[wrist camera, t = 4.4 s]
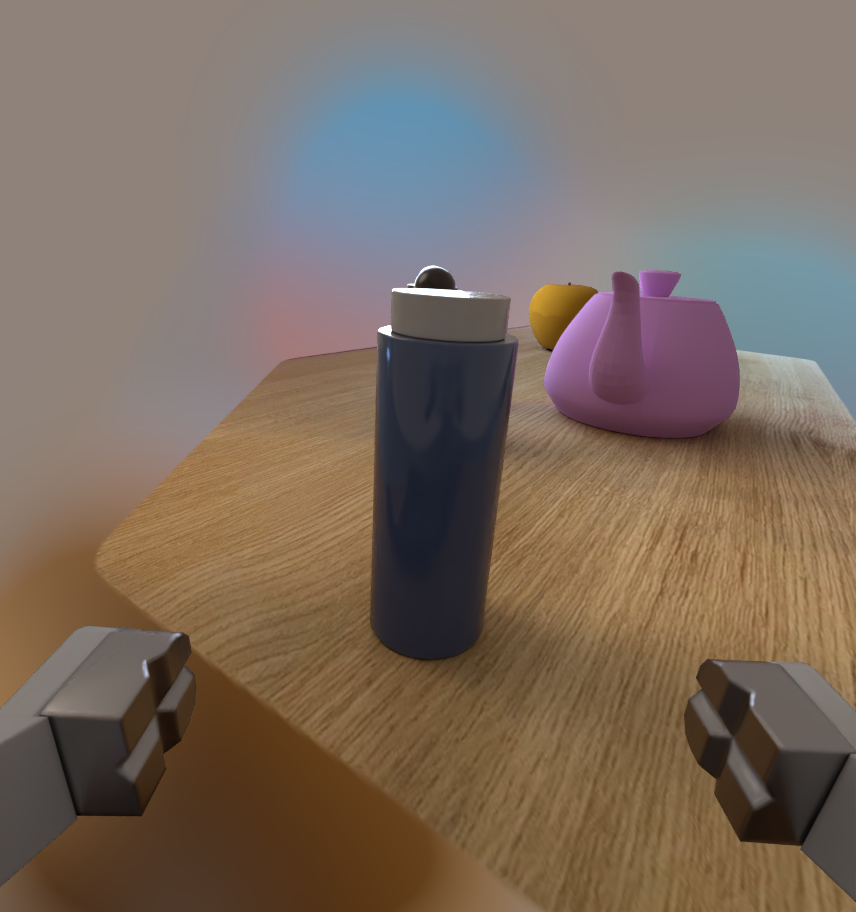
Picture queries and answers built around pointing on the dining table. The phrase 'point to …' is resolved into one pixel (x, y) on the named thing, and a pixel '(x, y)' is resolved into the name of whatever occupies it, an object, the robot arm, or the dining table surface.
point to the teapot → (646, 361)
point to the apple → (556, 310)
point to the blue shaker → (438, 466)
